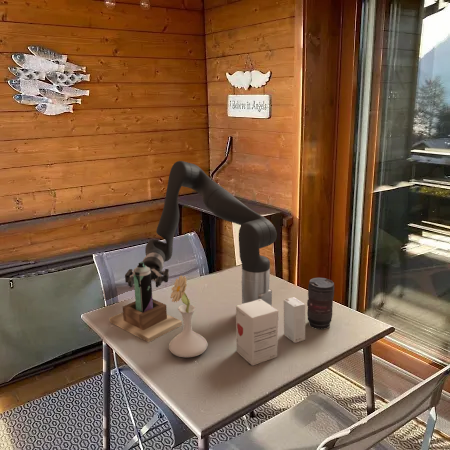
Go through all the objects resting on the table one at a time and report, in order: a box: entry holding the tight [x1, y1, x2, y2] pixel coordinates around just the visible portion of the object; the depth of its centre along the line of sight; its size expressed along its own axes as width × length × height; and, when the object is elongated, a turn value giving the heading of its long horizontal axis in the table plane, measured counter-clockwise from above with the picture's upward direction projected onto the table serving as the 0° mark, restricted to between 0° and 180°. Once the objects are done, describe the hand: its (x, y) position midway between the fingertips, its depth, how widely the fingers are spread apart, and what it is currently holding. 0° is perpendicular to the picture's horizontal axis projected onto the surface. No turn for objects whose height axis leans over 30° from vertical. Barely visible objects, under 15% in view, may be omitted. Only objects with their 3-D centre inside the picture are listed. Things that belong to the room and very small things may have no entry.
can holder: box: [109, 298, 183, 343], centre depth 154 cm, size 20×14×6 cm
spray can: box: [133, 261, 154, 313], centre depth 152 cm, size 6×6×20 cm
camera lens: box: [306, 277, 335, 330], centre depth 150 cm, size 8×8×15 cm
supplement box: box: [235, 299, 279, 366], centre depth 134 cm, size 9×9×15 cm
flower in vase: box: [168, 275, 208, 358], centre depth 134 cm, size 13×11×25 cm
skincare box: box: [283, 296, 306, 344], centre depth 144 cm, size 6×4×12 cm
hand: (143, 284), depth 152 cm, fingers open, 8 cm apart
